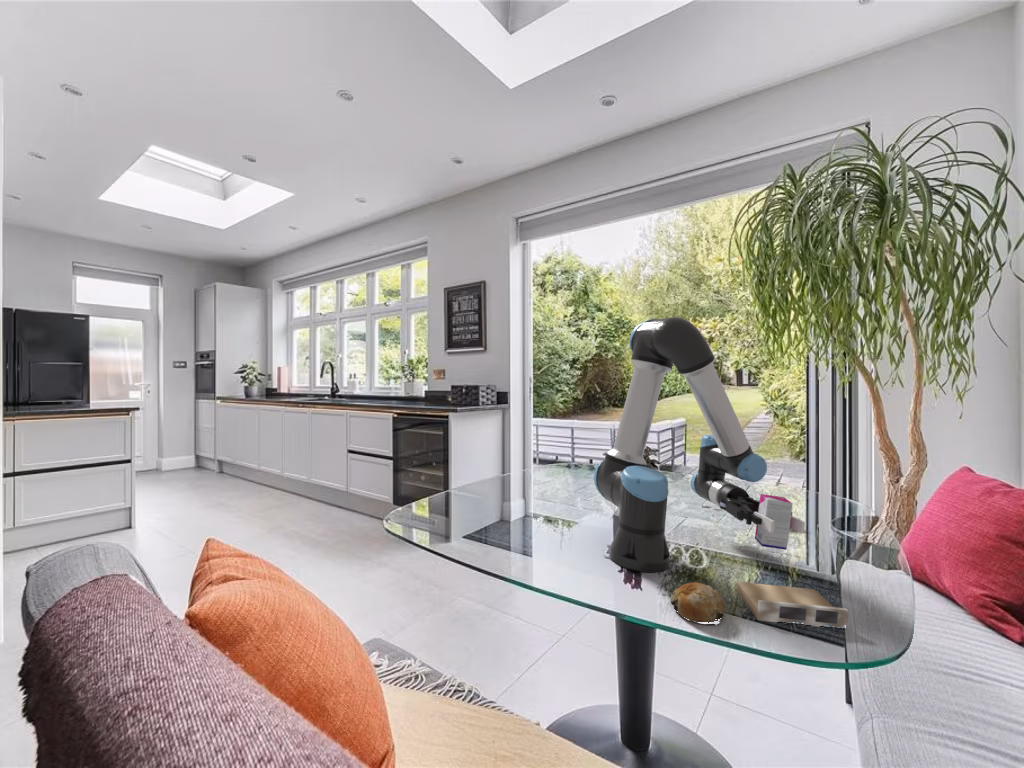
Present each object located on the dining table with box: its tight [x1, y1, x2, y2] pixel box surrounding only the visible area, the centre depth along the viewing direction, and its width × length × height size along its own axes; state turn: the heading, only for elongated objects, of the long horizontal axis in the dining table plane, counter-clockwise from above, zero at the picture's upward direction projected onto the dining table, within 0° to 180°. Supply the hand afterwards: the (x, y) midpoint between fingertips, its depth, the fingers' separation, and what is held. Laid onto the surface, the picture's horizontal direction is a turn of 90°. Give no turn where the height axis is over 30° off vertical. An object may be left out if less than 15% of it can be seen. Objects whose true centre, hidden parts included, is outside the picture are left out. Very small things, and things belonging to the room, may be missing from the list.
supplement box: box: [754, 493, 793, 551], centre depth 117 cm, size 6×6×12 cm
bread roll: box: [670, 581, 726, 623], centre depth 100 cm, size 10×10×8 cm
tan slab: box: [735, 581, 849, 628], centre depth 104 cm, size 17×13×4 cm
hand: (787, 527), depth 112 cm, fingers closed on supplement box, 7 cm apart
